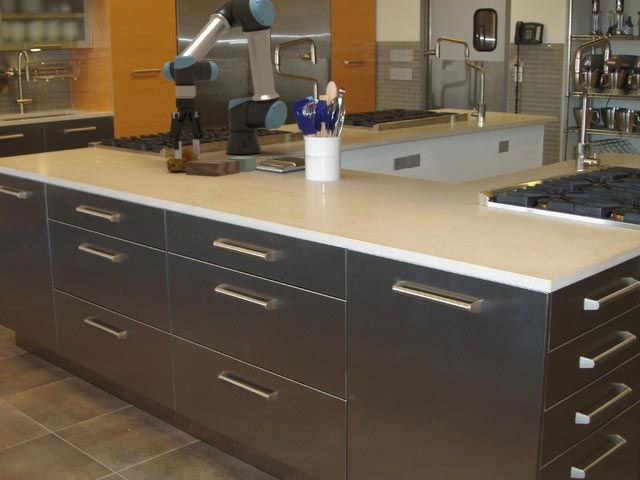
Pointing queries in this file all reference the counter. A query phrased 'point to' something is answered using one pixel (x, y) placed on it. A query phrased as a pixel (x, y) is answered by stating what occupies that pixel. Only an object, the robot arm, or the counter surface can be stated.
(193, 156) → the rock
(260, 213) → the counter surface
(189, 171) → the walnut block
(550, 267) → the counter surface
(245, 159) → the teal block
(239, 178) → the counter surface
